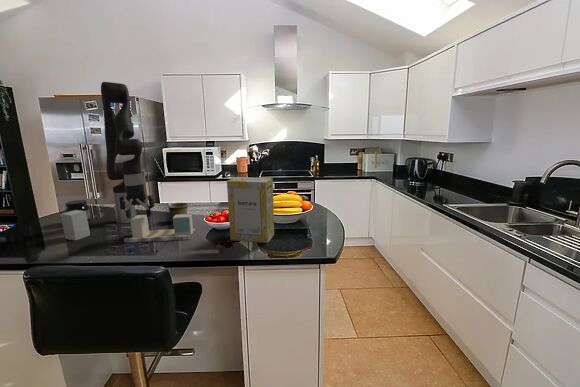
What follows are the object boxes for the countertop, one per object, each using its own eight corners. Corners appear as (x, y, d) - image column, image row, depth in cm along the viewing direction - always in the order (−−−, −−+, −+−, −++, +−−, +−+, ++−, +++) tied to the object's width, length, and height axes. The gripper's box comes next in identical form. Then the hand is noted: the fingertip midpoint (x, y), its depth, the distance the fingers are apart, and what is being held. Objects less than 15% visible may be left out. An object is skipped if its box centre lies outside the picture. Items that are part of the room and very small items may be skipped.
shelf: (124, 245, 125) (123, 239, 124) (138, 233, 139) (137, 227, 139) (189, 242, 128) (188, 235, 127) (196, 230, 142) (195, 224, 142)
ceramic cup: (192, 221, 156) (191, 204, 154) (175, 226, 149) (173, 208, 147) (181, 217, 165) (180, 200, 163) (164, 221, 158) (162, 204, 156)
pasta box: (230, 239, 130) (226, 181, 124) (239, 231, 140) (236, 177, 134) (267, 242, 126) (265, 182, 120) (274, 234, 136) (272, 178, 130)
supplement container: (63, 224, 155) (59, 203, 152) (83, 218, 165) (79, 198, 162) (76, 226, 151) (71, 205, 149) (95, 220, 161) (91, 200, 158)
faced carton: (174, 235, 132) (172, 217, 130) (177, 232, 137) (175, 214, 135) (191, 235, 133) (189, 217, 131) (193, 231, 137) (191, 214, 135)
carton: (139, 232, 137) (136, 215, 135) (149, 232, 137) (146, 214, 135) (132, 238, 129) (129, 220, 127) (143, 238, 130) (140, 219, 128)
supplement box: (90, 235, 138) (86, 210, 135) (75, 240, 131) (70, 215, 129) (80, 233, 141) (75, 209, 138) (64, 239, 134) (59, 213, 131)
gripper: (113, 185, 123) (119, 220, 127) (147, 184, 125) (152, 218, 128) (121, 182, 130) (126, 215, 134) (153, 181, 132) (157, 214, 135)
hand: (139, 217), depth 131 cm, fingers open, 8 cm apart
